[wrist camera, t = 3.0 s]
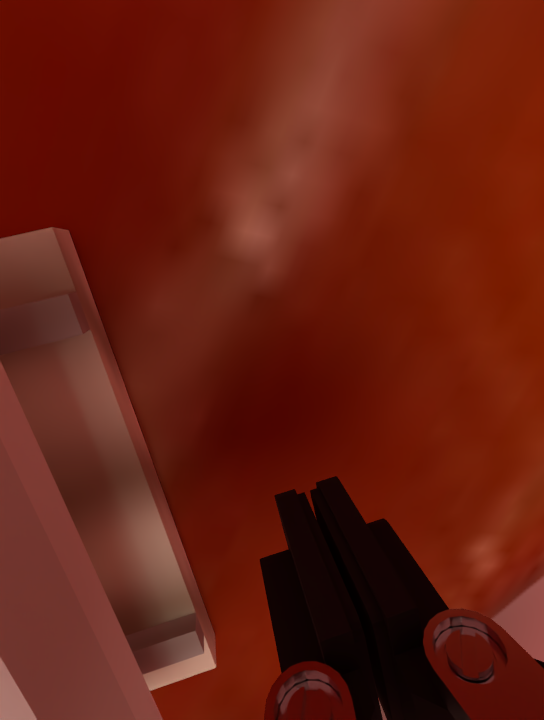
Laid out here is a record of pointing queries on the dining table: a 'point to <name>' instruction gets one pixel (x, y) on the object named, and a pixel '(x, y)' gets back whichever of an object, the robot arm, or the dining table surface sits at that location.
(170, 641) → the rail board
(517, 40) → the dining table surface
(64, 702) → the pink rimmed tray
